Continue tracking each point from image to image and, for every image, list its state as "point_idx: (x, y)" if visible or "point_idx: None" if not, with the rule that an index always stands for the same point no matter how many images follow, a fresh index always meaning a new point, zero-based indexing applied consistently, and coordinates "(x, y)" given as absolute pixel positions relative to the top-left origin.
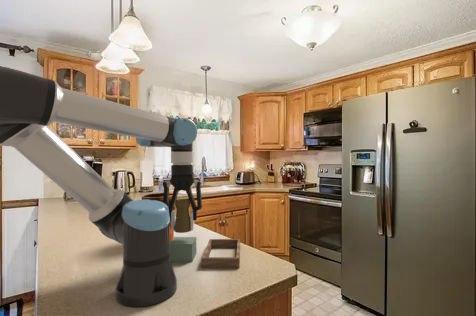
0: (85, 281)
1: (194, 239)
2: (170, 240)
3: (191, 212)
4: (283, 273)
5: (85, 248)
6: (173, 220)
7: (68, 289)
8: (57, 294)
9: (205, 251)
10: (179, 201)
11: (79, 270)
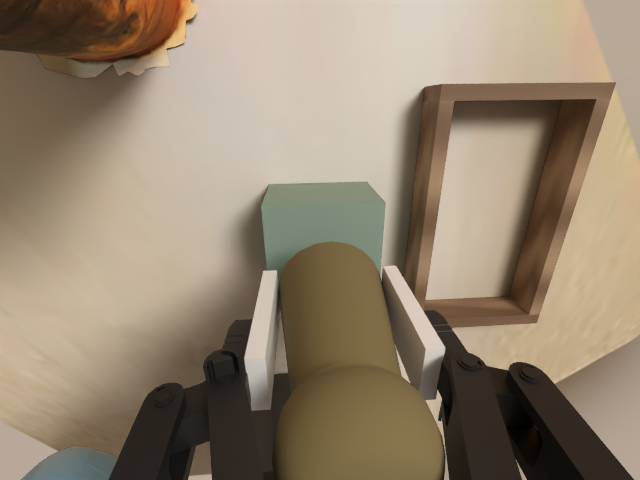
0: (95, 395)
1: (380, 245)
2: (174, 3)
3: (424, 396)
4: (624, 329)
5: None
6: (275, 355)
7: (90, 425)
8: (87, 442)
9: (421, 268)
10: None
11: (3, 343)
